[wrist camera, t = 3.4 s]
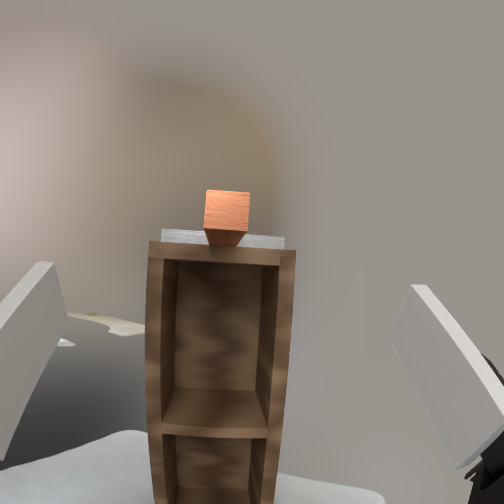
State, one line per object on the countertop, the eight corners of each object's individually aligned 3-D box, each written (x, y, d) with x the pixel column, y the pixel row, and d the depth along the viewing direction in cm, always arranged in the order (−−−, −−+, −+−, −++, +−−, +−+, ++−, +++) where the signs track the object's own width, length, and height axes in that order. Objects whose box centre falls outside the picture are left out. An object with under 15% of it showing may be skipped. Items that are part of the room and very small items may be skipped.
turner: (120, 223, 14) (124, 186, 14) (173, 250, 33) (175, 233, 33) (330, 237, 15) (331, 201, 15) (268, 256, 34) (269, 239, 34)
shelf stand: (160, 537, 21) (149, 240, 23) (169, 486, 31) (169, 249, 33) (267, 540, 22) (295, 250, 24) (256, 490, 32) (273, 256, 34)
